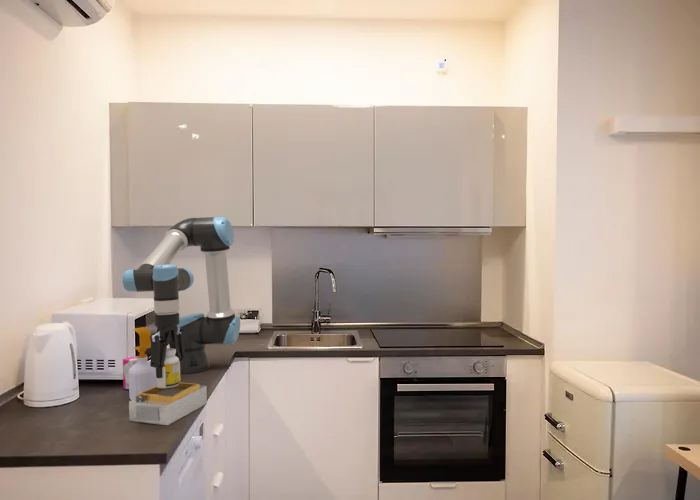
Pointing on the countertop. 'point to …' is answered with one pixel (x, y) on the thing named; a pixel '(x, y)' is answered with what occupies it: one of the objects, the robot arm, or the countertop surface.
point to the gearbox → (167, 403)
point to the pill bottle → (171, 368)
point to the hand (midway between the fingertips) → (169, 384)
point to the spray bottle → (142, 367)
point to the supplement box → (127, 370)
